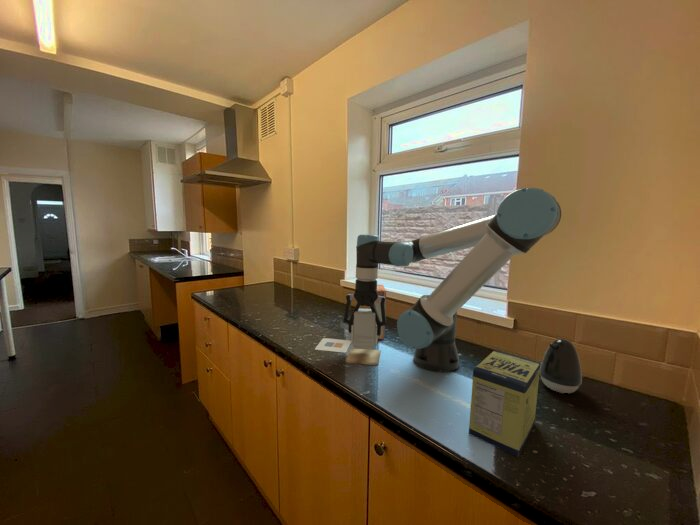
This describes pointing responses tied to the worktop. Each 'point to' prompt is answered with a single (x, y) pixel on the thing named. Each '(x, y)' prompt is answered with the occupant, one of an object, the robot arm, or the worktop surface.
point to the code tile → (333, 345)
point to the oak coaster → (364, 356)
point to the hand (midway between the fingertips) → (364, 342)
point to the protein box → (504, 400)
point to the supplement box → (364, 329)
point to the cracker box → (380, 292)
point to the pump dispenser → (561, 367)
